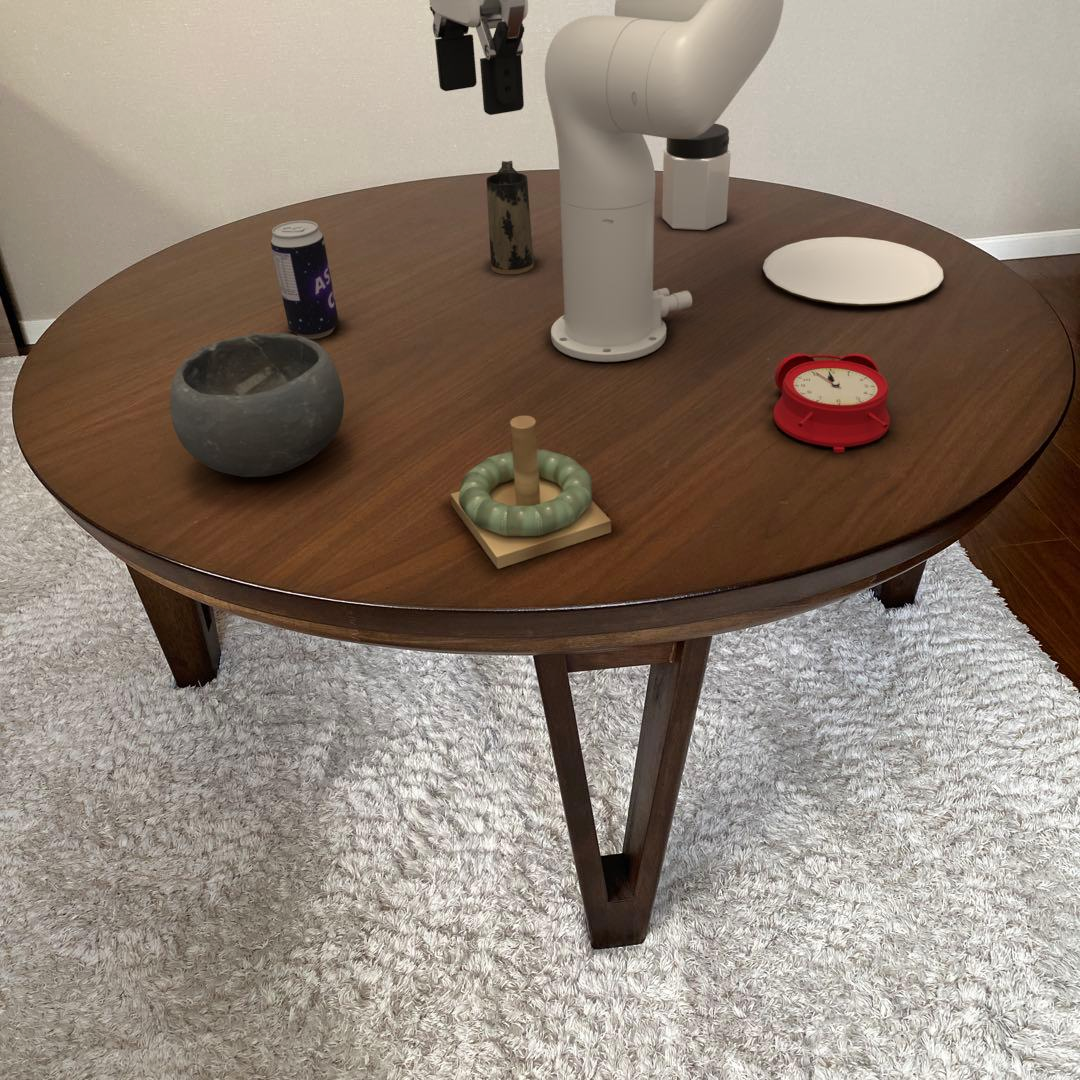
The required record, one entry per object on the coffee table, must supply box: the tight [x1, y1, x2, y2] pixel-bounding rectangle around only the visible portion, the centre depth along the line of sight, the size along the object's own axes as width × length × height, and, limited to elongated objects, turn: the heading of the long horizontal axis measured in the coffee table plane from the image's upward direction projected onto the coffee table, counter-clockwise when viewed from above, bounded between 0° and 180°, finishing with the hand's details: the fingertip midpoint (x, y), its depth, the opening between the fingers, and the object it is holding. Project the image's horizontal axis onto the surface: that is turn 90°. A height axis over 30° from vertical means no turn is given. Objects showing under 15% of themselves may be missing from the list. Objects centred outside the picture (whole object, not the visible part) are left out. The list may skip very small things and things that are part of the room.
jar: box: [661, 122, 732, 231], centre depth 135 cm, size 9×8×12 cm
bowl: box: [169, 332, 345, 478], centre depth 89 cm, size 15×15×10 cm
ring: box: [459, 448, 593, 536], centre depth 82 cm, size 11×11×2 cm
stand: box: [449, 415, 612, 570], centre depth 80 cm, size 10×10×9 cm
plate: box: [762, 236, 944, 307], centre depth 120 cm, size 21×21×1 cm
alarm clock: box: [772, 352, 891, 454], centre depth 93 cm, size 10×6×15 cm
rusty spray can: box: [486, 160, 535, 275], centre depth 125 cm, size 8×6×12 cm
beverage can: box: [270, 219, 340, 340], centre depth 111 cm, size 6×6×12 cm
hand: (480, 99), depth 82 cm, fingers open, 9 cm apart
